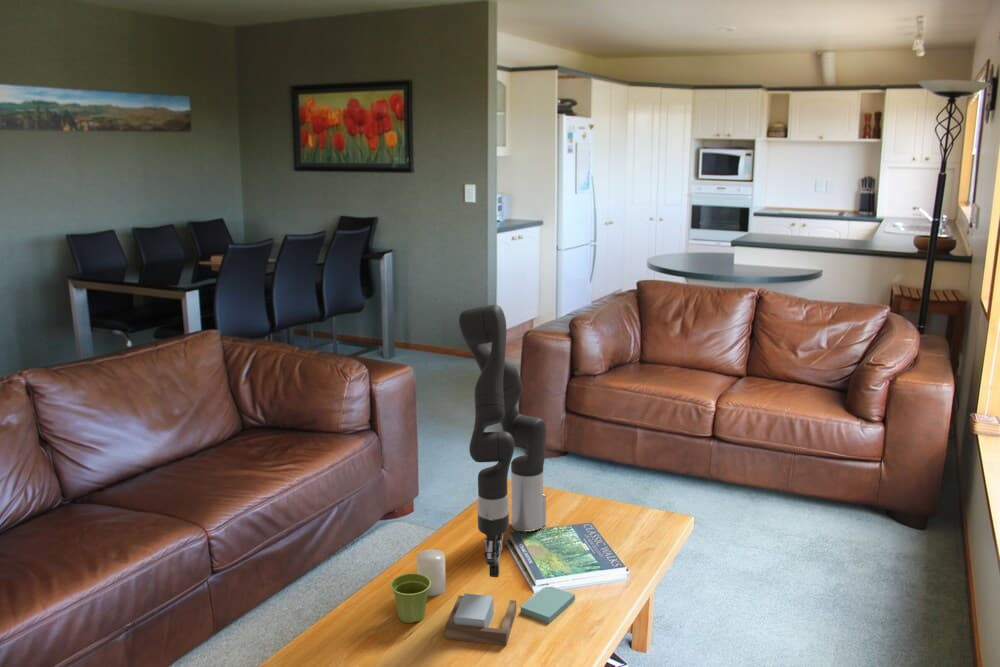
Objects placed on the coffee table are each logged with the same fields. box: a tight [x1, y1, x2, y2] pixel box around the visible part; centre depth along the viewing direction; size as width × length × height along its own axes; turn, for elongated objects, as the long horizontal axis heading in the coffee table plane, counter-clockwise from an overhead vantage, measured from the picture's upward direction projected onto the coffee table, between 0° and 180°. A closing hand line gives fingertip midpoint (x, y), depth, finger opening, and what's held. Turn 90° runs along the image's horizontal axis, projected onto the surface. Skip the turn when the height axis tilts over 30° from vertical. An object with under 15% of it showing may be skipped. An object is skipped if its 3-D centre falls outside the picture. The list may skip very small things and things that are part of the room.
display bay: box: [444, 595, 517, 646], centre depth 192 cm, size 14×14×3 cm
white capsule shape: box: [416, 548, 447, 597], centre depth 207 cm, size 7×7×9 cm
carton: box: [454, 593, 495, 628], centre depth 192 cm, size 10×7×5 cm
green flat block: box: [520, 585, 576, 624], centre depth 200 cm, size 12×8×2 cm, turn 145°
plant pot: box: [390, 572, 431, 624], centre depth 195 cm, size 9×9×9 cm
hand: (494, 575), depth 204 cm, fingers closed
